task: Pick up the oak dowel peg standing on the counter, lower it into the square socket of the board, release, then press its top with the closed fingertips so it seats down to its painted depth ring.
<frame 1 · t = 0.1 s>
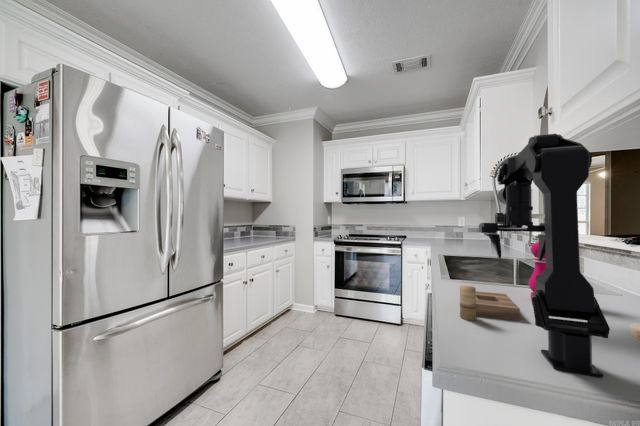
hand: (519, 259, 74), 15 cm above the counter, tool pointing down, fingers open, 9 cm apart
peg: (467, 317, 70), on the counter
board: (487, 308, 77), on the counter
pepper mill: (543, 300, 84), on the counter
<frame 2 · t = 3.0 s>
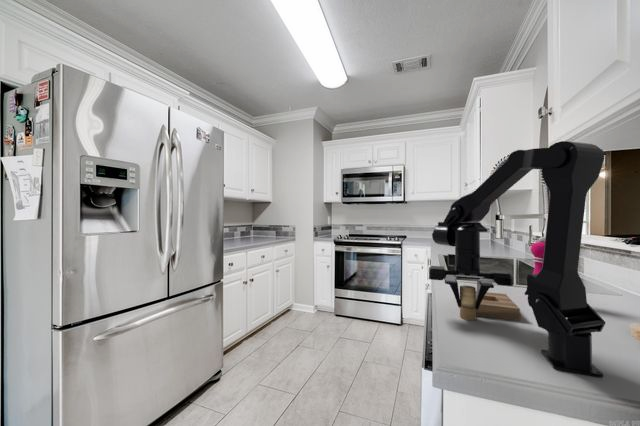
hand: (467, 308, 70), 3 cm above the counter, tool pointing down, fingers closed on peg, 4 cm apart
peg: (467, 317, 70), on the counter, touching gripper
everything else where it was.
when the fingers open (4 cm above the counter, at t = 6.4 s): peg drops 1 cm, resting in board.
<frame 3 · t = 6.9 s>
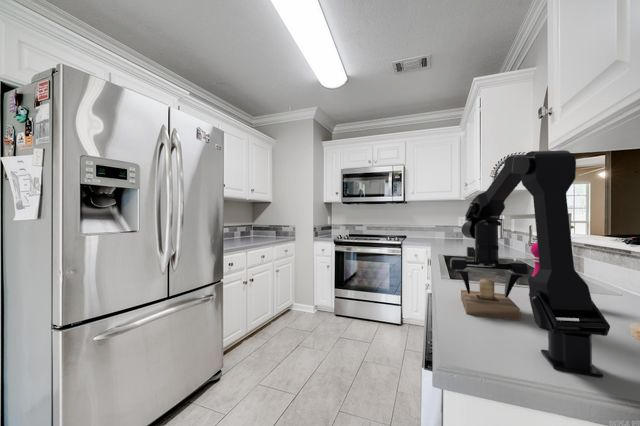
hand: (487, 295, 77), 4 cm above the counter, tool pointing down, fingers open, 9 cm apart
peg: (487, 308, 77), resting in board
everything else where it was.
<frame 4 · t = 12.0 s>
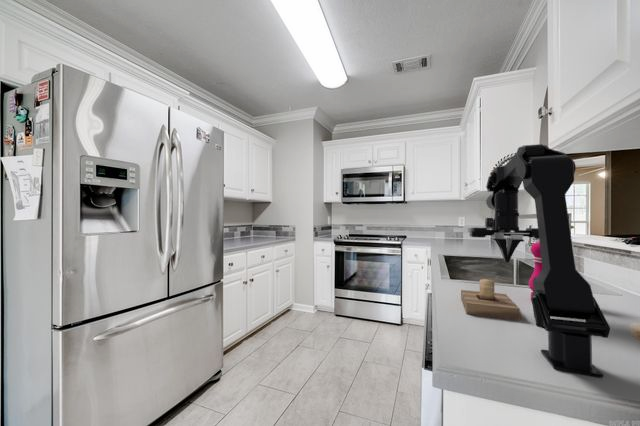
hand: (506, 262, 79), 13 cm above the counter, tool pointing down, fingers closed
nothing on the counter moved.
at the end: peg 0.0 cm off-centre on the board, point 0.0 cm above the board's base; peg tilted 0°; the gripper is holding nothing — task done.
